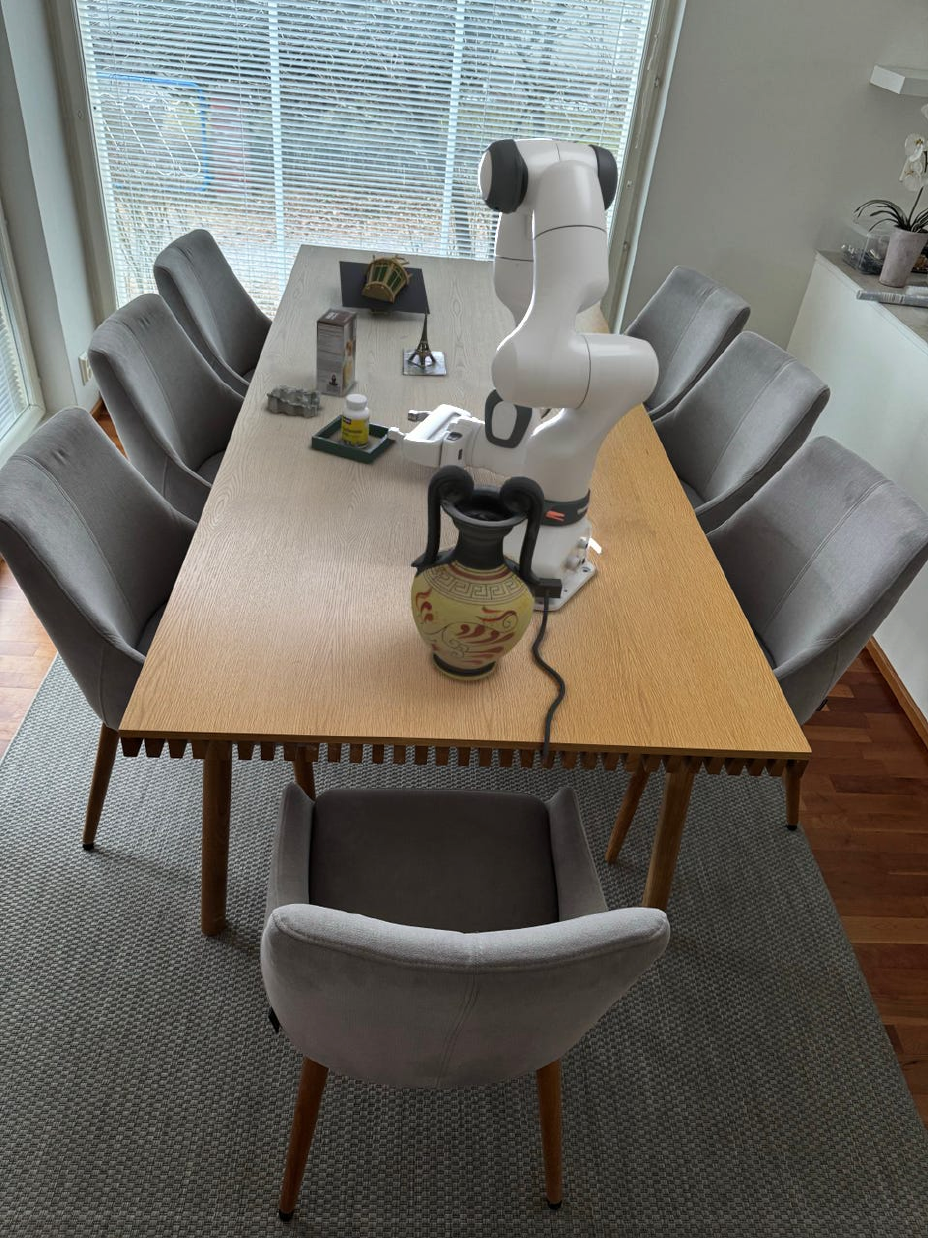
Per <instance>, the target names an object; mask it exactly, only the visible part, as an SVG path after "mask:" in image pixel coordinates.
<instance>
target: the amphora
mask: <svg viewBox="0 0 928 1238" xmlns="http://www.w3.org/2000/svg"><path fill="white" fill-rule="evenodd" d="M426 496H427V497H426V498H427V500H426V501H427V538H426V540H427V542H426V547H425V551H424V552H423V553H422V554H421V555H419V556H418V557H417V558H415V560H413V561H412V562H411V564H410V567H412V568H415V569H416V572H415V574H414V577H413V579H412V580H413V581H412V584H411V589H410V609H411V614H412V617H413V621H414V624H415V627H416V629H417V632H418V634H419V636H420V638H421V639H422V641H423V643H424V645H426V647H427V648H428V649H429V650H431V652H432V661H433V663H434V665H435V667H436V668H437V669H438V670H439V671H440V672H441V673H443V674H444V675H446V676H448V677H449V678H452V679H456V680H459V681H471V682H472V681H477V680H481V679H482V680H483V679H484V678H487V677H489V676H490V675H491V674H492V673H493V672H494V671H495V669H496V667H497V661H498V660H500V659H501V658H503V657H504V656H506V655H508V654H509V653H510V652H511V651H512V650H513V649H514V648H515V647H516V646H517V645H518V644H519V642H520V641H521V640H522V638H523V637H524V635H525V633H526V631H527V629H528V628H529V626H530V623H531V620H532V617H533V614H534V600H535V591H534V587H535V586H537V585H539V584H541V581H540V579H539V578H538V577H537V575H536V574H535V573H534V572H533V571H532V569H531V566H532V558H533V554H534V549H535V545H536V541H537V537H538V533H539V529H540V525H541V520H542V516H543V511H544V506H545V496H544V493H543V491H542V489H541V487H540V485H539V484H538V483H536V482H535V481H534V480H532V479H530V478H527V477H522V476H517V477H512V478H511V477H509V478H508V479H506V480H505V481H504V482H503V484H502V486H499V485H495V484H490V483H485V482H484V483H482V482H475V481H474V478H473V476H472V475H471V474H470V473H469V472H468V471H467V470H466V469H465V468H461V467H459V466H456V465H447V466H443V467H441V468H440V467H438V469H437V470H436V471H435V472H433V474H432V476H431V478H430V480H429V484H428V487H427V495H426ZM442 511H443V512H444V513H445V514H446V515H447V516H448V517H450V518H451V521H452V523H453V526H454V527H455V528H456V529H457V530H458V535H457V540H456V543H455V544H451V545H446V546H444V547H442V548H440V546H441V533H442ZM526 518H528V521H527V526H526V531H525V535H524V539H523V543H522V547H521V552H520V558H519V561H518V560H517V559H516V558H514V557H513V556H511V555H510V554H508V553H507V552H504V551H503V540H504V537H505V536H506V535H508V534H509V533H510V532H511V531H512V529H513V528H514V526H517V525H519V524H521V523H522V522H524V521H525V520H526Z"/></svg>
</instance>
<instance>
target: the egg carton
mask: <svg viewBox="0 0 928 1238" xmlns="http://www.w3.org/2000/svg"><path fill="white" fill-rule="evenodd" d="M321 396H322V393H321V390H318V391H316V389H314V390H311V389H307V390H306V388H304V387H303V388H298V387H290V386H287V385H286V384H285V385H284V384H281V385H277V386H275V387H273V388H272V390H271V391H270V393H269V392H267V393H266V397H267V409H268V410H269V411H271V412H272V413H274V414H278V413H280V412H281V413H282V412H283V413H287V414H288V415H289V416H295V415H302V416H303V417H304V418H311V417H316V416H317V414H318V409H320V408H321Z"/></svg>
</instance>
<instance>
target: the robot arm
mask: <svg viewBox="0 0 928 1238" xmlns="http://www.w3.org/2000/svg"><path fill="white" fill-rule="evenodd" d="M618 169H619V168H618V163H617V161H616V158H615V156H614V154H613V153H612V152H611V150H609V149H607V148H605V147H602V146H599V145H597V144H596V145H595V144H588V145H585V144H581V143H575V142H571V141H570V142H569V141H561V140H555V139H552V138H525V139H514V138H512V137H509V138H502V139H498V140H494V141H492V142H490V144H489V145H488V146H486V148H485V150H484V151H483V154H482V157H481V161H480V163H479V169H478V186H479V189H480V191H479V192H480V196H481V199H482V202H483V203H484V204H485V205H486V206H487V208H488V209H490V210H492V211H494V212H498V213H499V217H498V222H497V227H496V232H495V240H494V241H495V242H494V251H493V263H492V265H493V266H492V269H493V270H492V274H493V285H494V292H495V296H496V297H497V299H498V300H499V301H500V303H501V304H502V305H504V307H506V308H507V309H508V310H509V311H510V312H511V315H512V317H513V320H514V324H515V325H514V326H515V329H514V331H513V332H512V333H510V334H509V335H508V336H507V337H505V338H504V339H503V340H502V342H501V343H500V344H499V345H498V347H497V348H496V350H495V352H494V354H493V357H492V361H491V368H490V371H491V381H492V384H493V387H494V388H492V390H491V391H490V392H489V394H488V395H487V398H486V400H485V403H484V420H479V418H477V417H473V415H472V414H471V412H468V411H466V410H463V409H461V408H458V407H455V406H453V405H448V404H441V405H439V406H438V407H436V409H434V410H433V411H430V410H422V411H421V410H420V411H418V410H414V409H411V410H410V411H409V412H407V421H408V422H412V423H417V422H419V424H418V425H417V426H416V427H415V428H414V429H413V430H412V431H411V432H410V433H408V432H405V433H403V432H401V431H400V428H397V427H390V428H391V429H390V430H388V438H389V439H392V440H395V442H397V443H398V444H399V445H400V446H401V457H402V458H404V459H405V460H406V461H409V462H411V463H414V464H418V465H422V466H425V467H429V468H441V467H443V466H447V465H456V466H459V467H461V468H463V469H465V468H467V467H470V468H473V469H485V470H488V471H490V472H492V473H493V474H495V475H499V476H503V477H507V478H512V477H517V476H522V477H527V478H530V479H532V480H534V481H535V482H536V483H538V484H539V485H540V487H541V489H542V491H543V493H544V496H545V506H544V511H543V516H542V520H541V525H540V529H539V533H538V537H537V541H536V545H535V549H534V554H533V558H532V566H531V569H532V571H533V572H534V573H535V574H536V575H537V577H538V578H539V579H540V581H541V584H539V585H537V586H535V587H534V591H535V600H534V609H533V611H534V610H536V611H542V612H543V614H542V620H541V625H540V631H539V633H538V636H537V638H536V639H535V641H534V643H533V646H532V647H533V648H532V654H533V657H534V659H535V661H536V662H537V663H538V664H539V665H540V666H541V668H543V669H544V670H545V671H546V672H548V673H549V674H550V675H551V676H553V677H554V679H555V680H556V681H557V683H558V685H559V693H558V695H557V697H556V698H555V700H554V701H553V702H552V704H551V705H550V707H549V709H548V711H547V714H546V718H545V724H544V737H543V738H544V739H543V747H542V754H541V757H542V758H543V759H544V760H545V759H548V758H549V752H550V751H549V750H550V742H551V727H552V726H551V725H552V721H553V715H554V713H555V711H556V709H557V708H558V706H559V705H560V704H561V702H562V701H563V699H564V698H565V694H566V684H565V681H564V679H563V677H562V676H561V675H560V673H558V672H557V671H556V670H555V669H553V668H552V667H551V666H550V665H548V664H547V663H546V662H545V661H544V660H543V659H542V657H541V656H540V653H539V646H540V644H541V643H542V640H543V639H544V636H545V633H546V628H547V624H548V618H549V612H556V611H559V610H560V609H561V608H562V607H563V606H564V605H565V604H566V603H567V602H568V601H569V600H571V598H572V597H573V596H574V595H575V594H577V592H579V590H580V589H581V588H582V587H584V585H585V584H586V583H587V582H588V581H589V580H590V579H591V578H592V577H593V576H594V575H595V573H596V567H595V565H594V564H593V563H592V562H590V561H589V560H588V557H589V551H590V547H592V548H593V549H594V550H595V551H596V552H597V553H598V554H601V551H602V547H601V546H600V545H599V544H598V543H597V542H596V541H595V540H594V539H593V538H592V534H593V526H592V523H591V522H590V521H589V518H588V517H587V513H588V508H589V506H590V501H591V488H590V486H591V485H590V484H591V480H592V476H593V472H594V469H595V465H596V463H597V458H598V455H599V452H600V450H601V447H602V445H603V444H604V441H605V440H606V438H607V437H608V435H609V434H610V432H611V431H612V430H613V428H614V427H615V426H616V425H617V424H618V423H619V422H620V421H621V419H623V418H624V417H625V416H626V415H627V414H628V413H630V412H631V411H632V410H633V409H635V408H636V407H638V406H640V405H641V404H643V403H645V402H646V401H648V399H649V398H650V397H651V395H652V394H653V392H654V390H655V388H656V386H657V383H658V379H659V374H660V373H659V372H660V365H659V359H658V356H657V354H656V351H655V350H654V348H653V346H652V345H651V344H650V342H648V341H647V340H645V339H641V338H638V337H633V336H630V335H626V334H621V333H595V332H594V333H590V332H589V333H588V332H587V333H586V332H585V333H584V332H577V331H576V318H577V315H579V314H581V313H583V312H584V311H586V310H588V309H590V308H592V307H593V306H595V305H597V304H598V303H599V302H600V301H601V300H602V299H603V298H604V296H605V295H606V293H607V290H608V288H609V284H610V271H609V270H610V269H609V247H608V227H607V226H608V225H607V217H606V211H608V209H609V208H610V207H611V206H612V204H613V202H614V200H615V197H616V194H617V191H618V190H617V189H618V181H619V170H618ZM553 409H561V410H560V411H559V412H558V413H557V414H556V415H555V416H554V417H552V418H550V419H549V420H547V421H545V422H542V421H543V420H542V419H544V418H545V417H546V416H548V415H549V413H550V412H551V411H552V410H553ZM527 521H528V518H526V520H525V521H524V522H522V523H521V524H519V525H517V526H514V528H513V529H512V531H511V532H510V533H509V534H508V535H506V536H505V537H504V540H503V551H504V552H507V553H508V554H510V555H511V556H513V557H514V558H516V559H517V560H518V561H519V558H520V552H521V547H522V543H523V539H524V535H525V531H526V526H527ZM518 907H519V903H517V902H514V901H513V902H512V907H511V910H510V915H511V914H512V915H515V916H516V914H517V909H518Z"/></svg>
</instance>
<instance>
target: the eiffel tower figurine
mask: <svg viewBox="0 0 928 1238" xmlns="http://www.w3.org/2000/svg"><path fill="white" fill-rule="evenodd" d="M428 315H429V314H428V313H427V309H426V313H425V314H424V320H423V327H422V332H421V337H420V339H419V343H418V345H417V347H416V348H414V349H413V348H403V364H404V365H403V375H409V376H411V375H415V376H417V375H418V376H425V375H426V376H427V375H447V371H446V369H447V368H446V363H445V355H444V352H442V351H432V349H431V348H430V345H429V340H428Z"/></svg>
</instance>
